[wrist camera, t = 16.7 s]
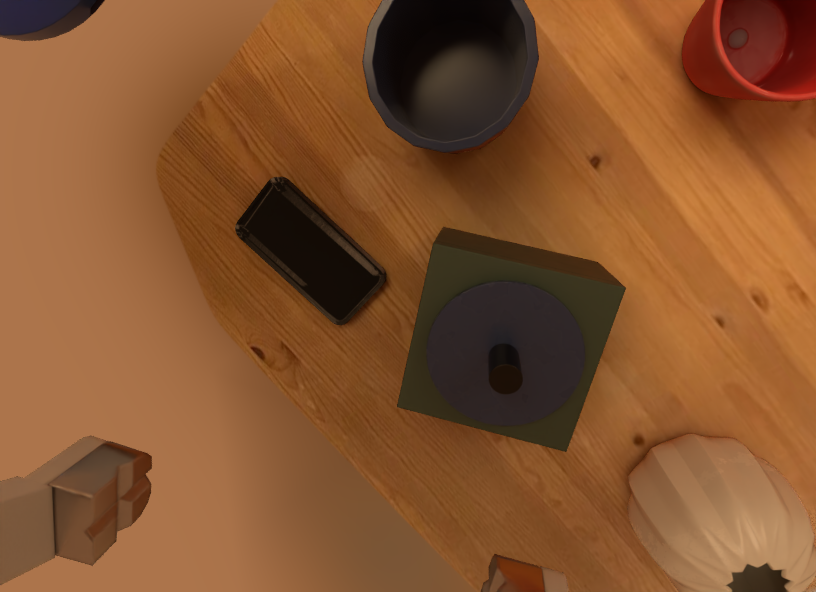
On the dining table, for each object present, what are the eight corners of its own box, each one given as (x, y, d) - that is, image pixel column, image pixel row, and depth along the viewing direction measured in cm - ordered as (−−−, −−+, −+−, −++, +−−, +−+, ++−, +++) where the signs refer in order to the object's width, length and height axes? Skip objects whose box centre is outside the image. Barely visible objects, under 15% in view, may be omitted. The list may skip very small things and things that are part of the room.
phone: (275, 172, 45) (388, 278, 46) (280, 171, 46) (391, 275, 47) (230, 230, 48) (339, 330, 49) (236, 229, 49) (342, 326, 50)
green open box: (412, 363, 50) (396, 407, 41) (443, 226, 45) (433, 243, 37) (551, 399, 49) (566, 452, 40) (598, 262, 44) (626, 287, 35)
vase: (718, 548, 50) (797, 679, 38) (594, 501, 51) (631, 614, 38) (790, 446, 46) (907, 556, 33) (654, 396, 47) (717, 485, 34)
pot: (384, 138, 44) (351, 132, 33) (408, 2, 40) (380, -55, 30) (504, 164, 43) (510, 166, 32) (539, 26, 39) (560, -24, 29)
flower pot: (720, -62, 36) (802, -137, 27) (842, 12, 36) (965, -38, 27) (632, 72, 39) (677, 46, 30) (743, 139, 39) (822, 133, 30)
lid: (414, 398, 41) (404, 430, 36) (446, 262, 37) (440, 277, 32) (556, 435, 40) (566, 473, 35) (604, 299, 36) (622, 321, 31)
